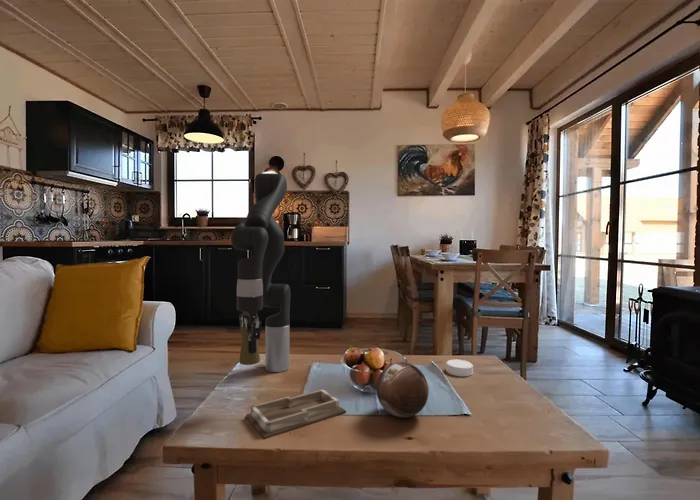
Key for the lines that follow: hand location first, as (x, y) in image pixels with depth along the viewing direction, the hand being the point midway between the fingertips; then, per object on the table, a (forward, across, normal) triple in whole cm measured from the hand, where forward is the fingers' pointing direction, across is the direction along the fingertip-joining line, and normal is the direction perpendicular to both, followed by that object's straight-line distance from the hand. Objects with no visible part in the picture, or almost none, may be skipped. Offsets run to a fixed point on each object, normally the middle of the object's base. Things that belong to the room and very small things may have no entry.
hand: (249, 350), depth 109 cm
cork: (+4, 0, 0) cm, 4 cm away
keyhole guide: (+17, +11, +11) cm, 23 cm away
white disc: (+18, +14, +78) cm, 81 cm away
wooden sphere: (+18, +28, +36) cm, 49 cm away
